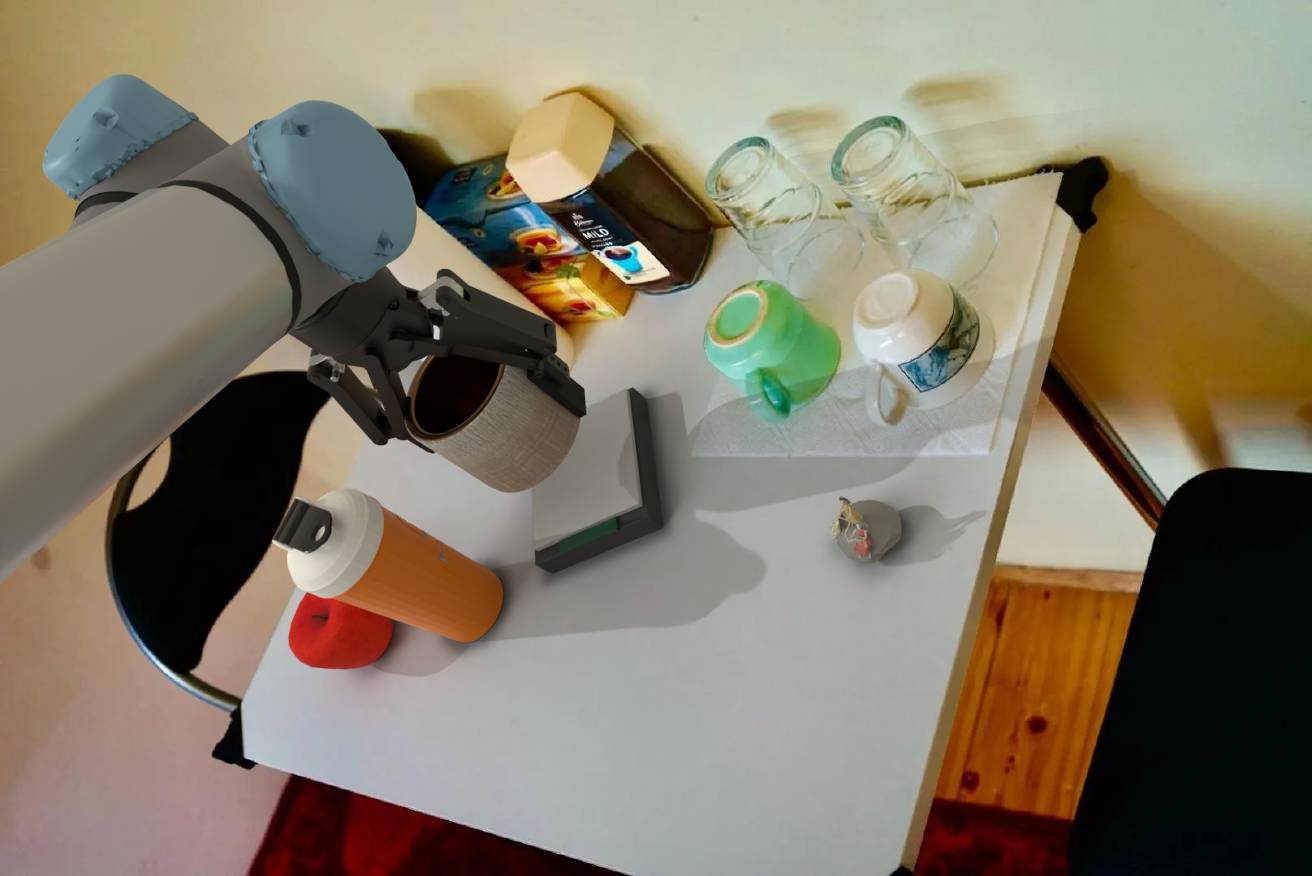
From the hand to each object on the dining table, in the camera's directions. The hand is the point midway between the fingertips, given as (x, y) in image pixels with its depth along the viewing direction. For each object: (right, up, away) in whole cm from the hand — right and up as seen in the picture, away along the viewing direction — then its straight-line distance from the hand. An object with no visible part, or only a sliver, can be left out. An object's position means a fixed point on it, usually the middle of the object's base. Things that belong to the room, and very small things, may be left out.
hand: (526, 431), depth 75 cm
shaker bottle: (-6, -16, +9) cm, 20 cm away
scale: (+6, -5, +8) cm, 11 cm away
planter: (+1, -1, +1) cm, 1 cm away
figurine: (+27, -8, -10) cm, 30 cm away
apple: (-17, -21, +15) cm, 31 cm away
